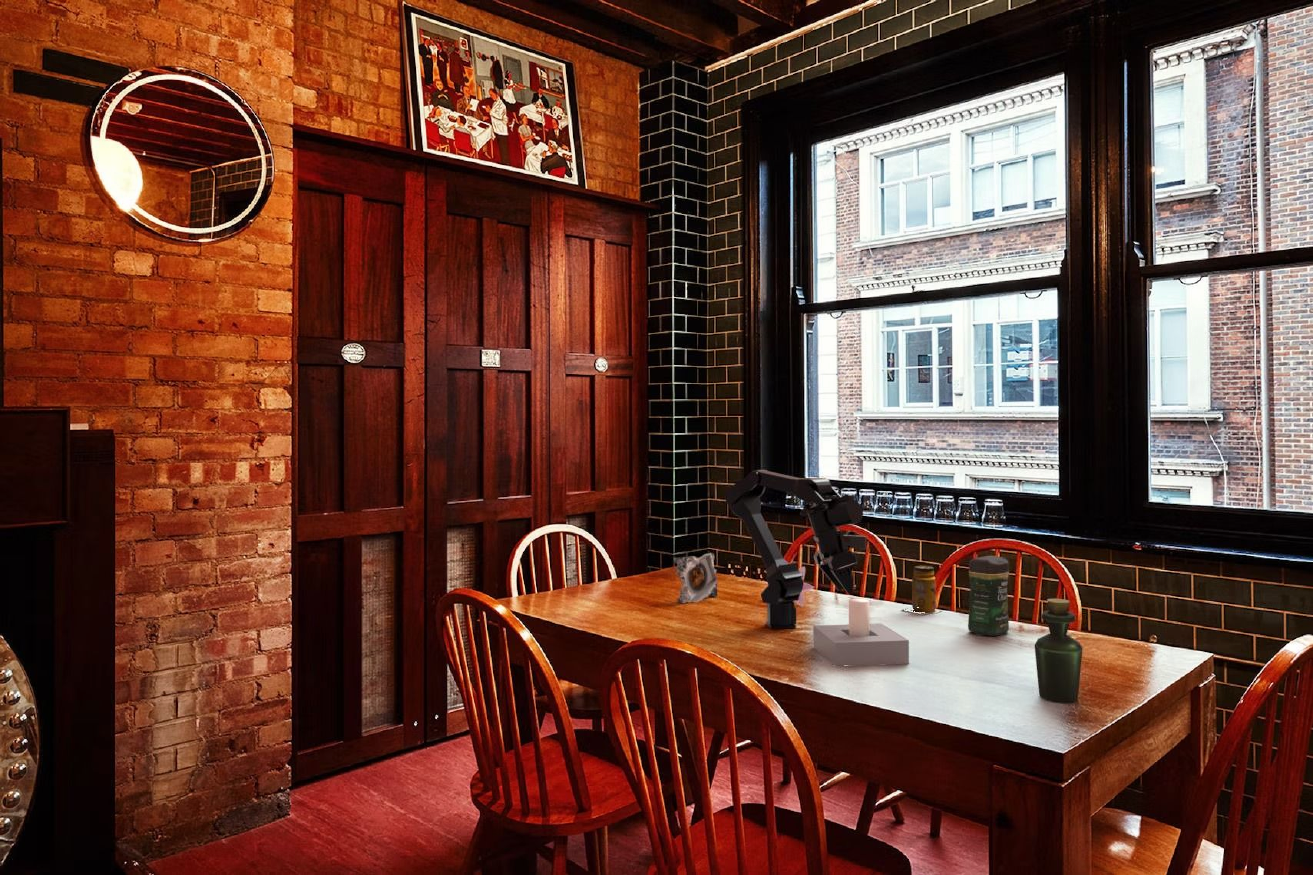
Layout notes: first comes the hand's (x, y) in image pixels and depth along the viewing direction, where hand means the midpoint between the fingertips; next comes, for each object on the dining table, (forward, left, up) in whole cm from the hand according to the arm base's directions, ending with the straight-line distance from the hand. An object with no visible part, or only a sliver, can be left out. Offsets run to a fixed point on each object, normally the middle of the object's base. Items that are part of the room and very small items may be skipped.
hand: (845, 591), depth 211 cm
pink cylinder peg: (-3, -17, -11) cm, 21 cm away
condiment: (+29, +25, -11) cm, 40 cm away
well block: (-3, -17, -11) cm, 21 cm away
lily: (-2, +41, -11) cm, 42 cm away
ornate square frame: (-29, +49, -11) cm, 58 cm away
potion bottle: (+23, -51, -11) cm, 57 cm away
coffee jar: (+35, -1, -11) cm, 37 cm away
